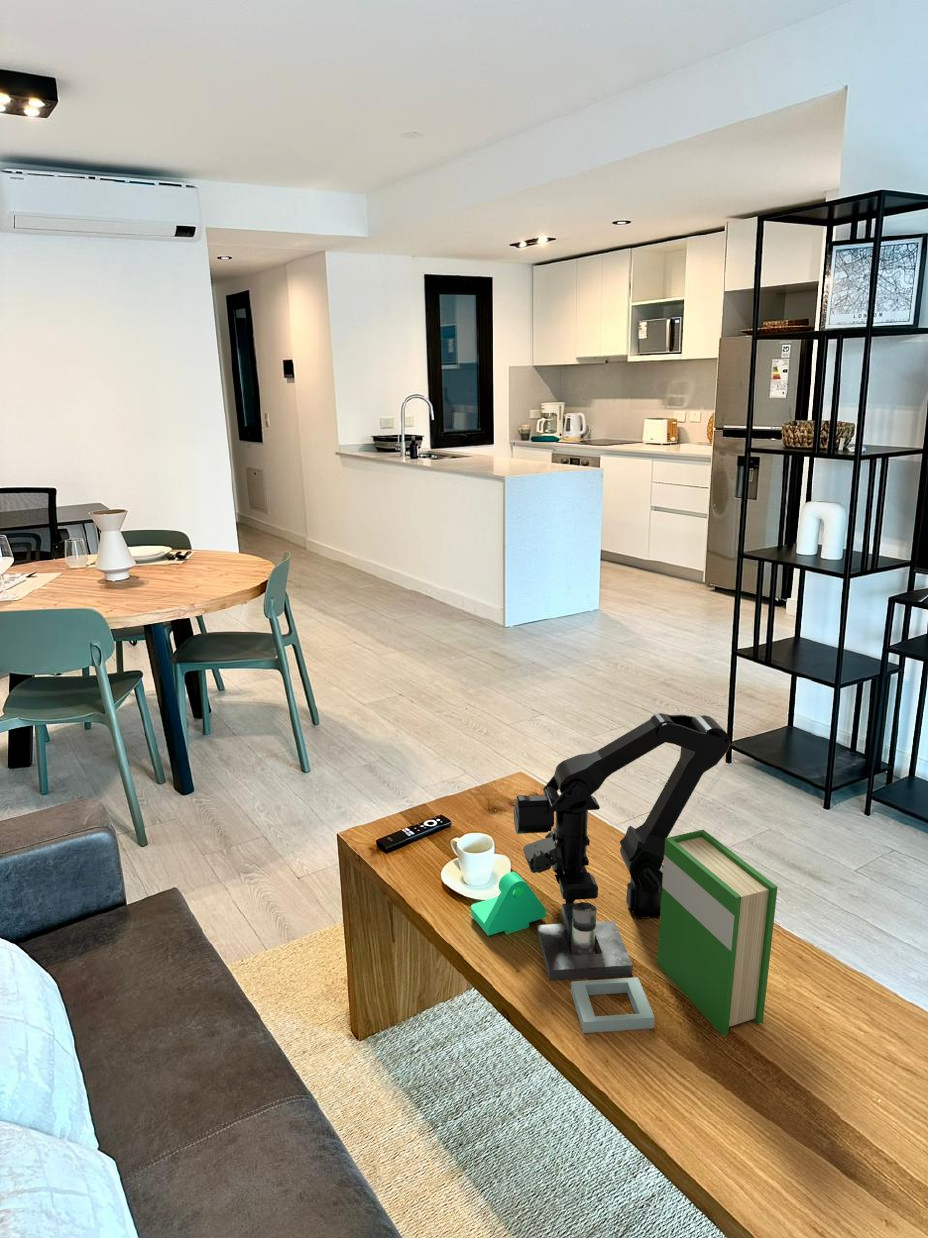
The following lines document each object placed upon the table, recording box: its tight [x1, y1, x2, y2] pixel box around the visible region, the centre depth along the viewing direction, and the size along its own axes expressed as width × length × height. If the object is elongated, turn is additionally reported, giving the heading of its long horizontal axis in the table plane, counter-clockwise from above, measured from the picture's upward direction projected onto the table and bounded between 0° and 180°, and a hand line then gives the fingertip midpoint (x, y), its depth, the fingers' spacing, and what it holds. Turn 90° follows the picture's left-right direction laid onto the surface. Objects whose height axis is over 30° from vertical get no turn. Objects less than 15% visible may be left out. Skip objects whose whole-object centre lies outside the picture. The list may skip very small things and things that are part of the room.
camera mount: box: [470, 871, 547, 936], centre depth 154 cm, size 12×8×10 cm, turn 116°
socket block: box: [536, 920, 634, 981], centre depth 145 cm, size 14×12×2 cm
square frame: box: [570, 976, 656, 1034], centre depth 132 cm, size 11×9×2 cm
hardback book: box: [656, 829, 778, 1037], centre depth 133 cm, size 18×7×24 cm, turn 21°
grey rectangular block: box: [561, 902, 578, 944], centre depth 152 cm, size 3×8×2 cm, turn 5°
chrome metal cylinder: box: [570, 901, 598, 956], centre depth 144 cm, size 4×4×9 cm
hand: (568, 904), depth 156 cm, fingers closed
